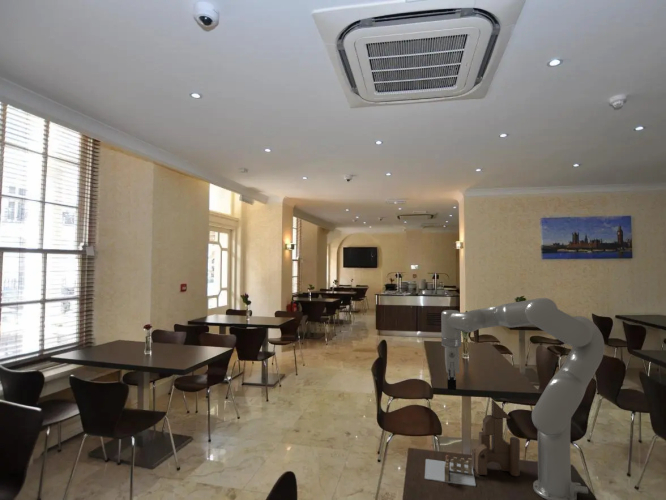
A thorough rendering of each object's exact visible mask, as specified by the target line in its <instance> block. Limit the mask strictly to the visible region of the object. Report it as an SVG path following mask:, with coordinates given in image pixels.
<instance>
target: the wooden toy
mask: <svg viewBox="0 0 666 500" xmlns="http://www.w3.org/2000/svg"><path fill="white" fill-rule="evenodd" d="M490 413H491V414H487V415H485V417H484V418H483V419H482V431H478V447H477V448H473V447H472V448H471V458H472V467H473V471H474V470H475V472H476V474H477V475H479V476H481V475H482V476H483V475H484V476H487V475H488V464H489V463H496V464H497V465H498V467H499V469H500V470H501V471H503V472H509V474H510V475H511V476H513V477H519V476H520V468H521V467H520V466H521V465H520V464H521V461H520V460H521V459H520V458H521V457H520V453H521V451H520V449H521V443H520V442H521V441H520V440H521V439H520V438H518V437H516V436H511V437H510V438H509V441H506V440H505V439H504V419H511V417H510V415H508V414H507V412H505V411H504V409H503V408H501V406H500V405H499V404H497V402H496V401H495V400H494V399H492V400H491V412H490Z"/></svg>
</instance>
